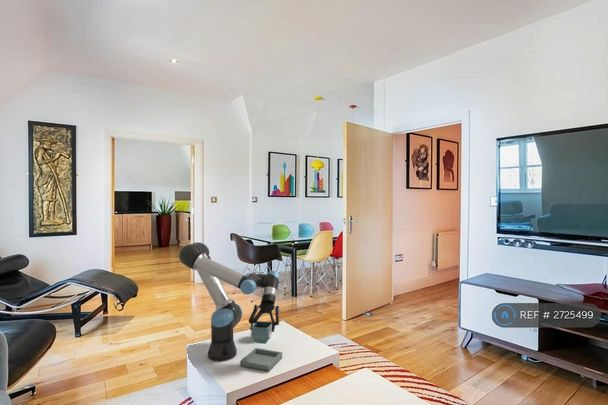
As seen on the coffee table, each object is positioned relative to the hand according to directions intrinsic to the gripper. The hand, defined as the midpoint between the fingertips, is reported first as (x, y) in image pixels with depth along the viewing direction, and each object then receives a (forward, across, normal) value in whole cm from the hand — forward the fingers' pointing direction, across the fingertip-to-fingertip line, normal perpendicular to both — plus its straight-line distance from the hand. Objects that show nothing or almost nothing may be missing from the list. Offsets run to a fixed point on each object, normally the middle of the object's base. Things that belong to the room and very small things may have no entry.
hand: (260, 337), depth 167 cm
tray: (+8, 0, -12) cm, 15 cm away
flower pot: (+1, 0, -5) cm, 5 cm away
